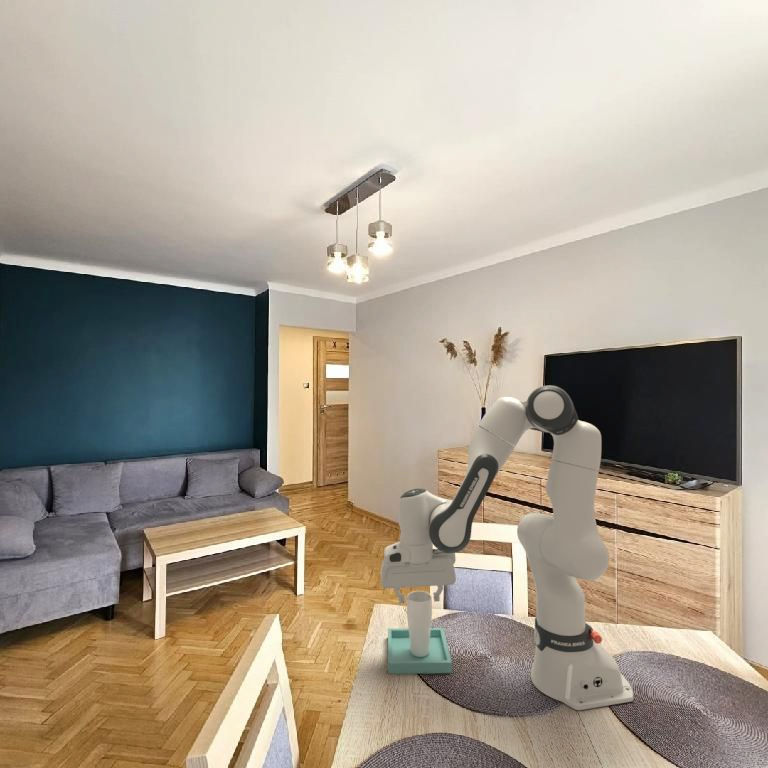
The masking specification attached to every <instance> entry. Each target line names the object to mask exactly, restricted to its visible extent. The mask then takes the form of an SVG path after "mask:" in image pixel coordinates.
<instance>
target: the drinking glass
mask: <svg viewBox="0 0 768 768" xmlns="http://www.w3.org/2000/svg"><path fill="white" fill-rule="evenodd" d="M432 602H433V601H432V595H431V594H430V593H428V592H427V591H422V590H415V591H411V592H409V593H408V594H407V595H406V615H407V616H406V617H407V628H409V639H410V652H411V653H412V655H414V656H416V657H425V656H427V655H428V654H429V652H430V633H431V628H432V615H433V603H432Z"/></svg>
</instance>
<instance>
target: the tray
mask: <svg viewBox="0 0 768 768" xmlns="http://www.w3.org/2000/svg"><path fill="white" fill-rule="evenodd" d="M387 665H388V666H387V667H388V671H387V672H388V675H389V674H390V675H391V674H393V675H394V674H395V675H396V674H400V675H401V674H403V675H405V674H453V666H452V665H453V663H452V657H451V654H450V650H449V646H448V641H447V638H446V633H445V630H444V628H443V627H431V633H430V652H429V654H428V655H427V656H425V657H416V656H414V655H412V653H411V652H410V639H409V628H408V627H405V628H403V627H402V628H387Z"/></svg>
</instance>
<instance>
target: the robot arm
mask: <svg viewBox="0 0 768 768" xmlns="http://www.w3.org/2000/svg"><path fill="white" fill-rule="evenodd" d="M528 430H534V431H537V432H540V433H545V434H546V433H547V434H550V435H551V436H552V439H553V448H552V449H553V450H552V456H551V460H550V465H549V469H548V474H547V480H546V484H545V492H546V495H547V497H548V498H549V501H550V503H551V508H552V512H553V515H551V514H547V513H539V512H530V513H527V514H526V515H524V516H523V517H522V518H521V519H520V521H519V523H518V525H517V531H516V534H517V538H518V541H519V542H520V545H521V546H522V548H523V550H524V552H525V554H526V557H527V560H528V564H529V568H530V571H531V574H532V575H531V576H532V578H533V582H534V589H535V604H536V605H535V607H536V609H535V610H536V612H535V613H536V617H534V629H533V630H534V631H533V633H534V636H533V637H534V642H535V652H534V653H535V654H534V659H533V663H532V668H531V671H530V680H531V682H532V684H533V686H534V687H536V689H538V691H540V692H541V693H543V694H544V695H546V696H548V697H549V698H552V699H554V700H556V701H559V702H561V703H564V704H565V705H567V706H568V707H570V708H571V709H573V710H576V711H583V710H584V711H585V710H589V709H595V708H601V707H605V706H606V707H607V706H611V705H618V704H624V703H630V702H633V701H634V698H635V697H634V696H635V695H634V690H633V688H632V686H631V684H630V683H629V681H628V680H627V679H626V677H625V676H624V675H623V674H622V673H621V670H620V667H619V665H618V663H617V661H616V660H615V658H614V656H612V654H611V653H610V652H609V651H608V650H607V649H606V648H605V647H603V646H602V645H601V643H602V642H603V637H602V636H601V634H599V632H598V631H595V630H594V629H593V628H592V626H591V625H590V624H588V623H587V622H586V598H585V594H584V591H583V589H582V587H581V585H580V584H579V582H578V581H577V579H579V580H583V581H587V582H593V581H596V580H598V579H600V578H601V577H602V576H603V575H604V574H605V573H606V571H607V569H608V567H609V564H610V563H609V562H610V554H609V553H610V552H609V549H608V547H607V546H606V544H605V542H604V541H603V539H602V537H601V535H600V532H599V528H598V525H597V521H596V514H595V496H596V490H597V483H598V478H599V472H600V467H601V461H602V434H601V431H600V430H599V429H598V427H596V426H595V425H594V424H592V423H589V422H586V421H582V420H579V416H578V413H577V411H576V408H575V406H574V402H573V400H572V398H571V397H570V395H569V394H568V393H567V392H566V391H565V389H562V388H561V387H559V386H556V385H551V384H550V385H541V386H540V387H539V386H538V387H537V388H536V389H534V390H533V391H532V392H531V393H530V394H529V396H528V398H527V399H526V400H519V399H517V398H515V397H513V396H501V397H498V398H497V399H496V401H494V403H493V404H492V405H491V406H490V407H489V408H488V410H487V411H486V413H484V415H483V417H482V418H481V420H480V421H479V423H478V425H477V427H476V428H475V430H474V432H473V434H472V437H471V439H470V441H469V445H468V448H467V452H468V454H467V455H468V457H467V458H468V459H467V461H468V463H467V464H468V465H467V470H466V474H465V476H464V479H463V480H462V482H461V484H460V486H459V488H458V489H457V491H456V494H455V495H454V497H453V499H448V498H444V497H439V496H437V495H436V494H433V493H431V492H430V491H428V490H427V489H425V488H412V489H410V490H407V491H405V492H404V493H402V495H400V497H399V502H398V525H399V529H400V535H399V541H397V542H395V543H393V544H390V545H387V546H386V547H384V552H383V556H384V558H383V559H382V563H381V568H380V586H381V587H382V588H383V589H384V590H386V589H394V593H395V594H396V596H397V598H398V603H399V604H400V605H401V604H405V602H406V601H405V593H401V592H400V591H401V590H400V588H401V589H403V588H418V587H419V588H420V587H435V586H437V590H436V591H435V592H433V593H432V594H433V600H434V602H440V598H441V597H440V596H441V593H443V590H444V586H453V585H454V584H455V583H456V581H457V578H456V577H457V574H456V570H455V566H454V565H455V564H456V553H458V552H459V553H460V552H461V551H463V550H464V549H465V548H466V547H468V545H469V543H470V540H471V538H472V530H473V529H472V528H473V521H474V519H475V516H476V514H477V512H478V511H479V509H480V506H481V504H482V503H483V501H484V499H485V497H486V496H487V493H488V491H489V489H490V487H491V486H492V483H493V482H494V480H495V479H496V476H497V475H498V474H499V472H500V471H501V469H502V468H503V467H504V465H505V464H506V462H507V460H508V459H509V458H510V456H511V454H512V453H513V451H514V450H515V448H516V446H517V445H518V443H519V441H520V439H521V438H522V437H523V435H524V433H526V431H528ZM433 546H434V547H435V548H433Z"/></svg>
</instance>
